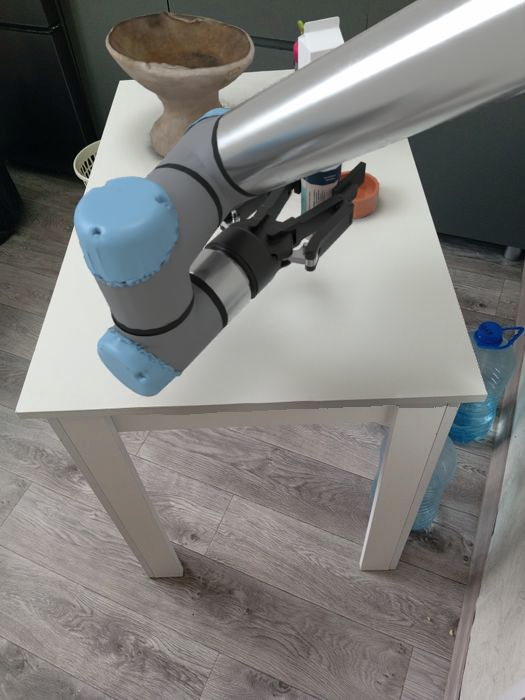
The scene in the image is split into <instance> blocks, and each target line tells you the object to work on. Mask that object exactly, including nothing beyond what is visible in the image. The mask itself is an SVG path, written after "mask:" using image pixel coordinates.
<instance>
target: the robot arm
mask: <svg viewBox="0 0 525 700" xmlns="http://www.w3.org/2000/svg"><path fill="white" fill-rule="evenodd" d="M344 42H345V43H343V44H341V45H340V46H338V47H336V48H335V49H333V50H331V51H329V52H328V53H326V54H324V55H323V56H321V57H319V58H317V59H316V60H314V61H312V62H310V63H309V64H307V65H305V66H304V67H302V68H300V69H298V70H297V71H295V70H294V71H293V72H292V73H290V74H288V75H286V76H285V77H283V78H281V79H279V80H278V81H276V82H275V83H272V84H271V85H269V86H267V87H266V88H264V89H263V90H261V91H259V92H257V93H255V94H253V95H252V96H250V97H248V98H247V99H245V100H243V101H242V102H240V103H238V104H237V105H235V106H233V107H232V108H227V107H224V108H216V109H213V110H210V111H209V112H207V113H206V114H205V115H204V116H203V117H201V118H200V119H199V120H197V121H196V122H195V123H194V124H192V125H191V126H190V127H189V128H188V129H187V130H186V131H185V133H184V135H183V136H182V138H181V139H180V140H179V142H178V143H177V144H176V145H175V146H174V147H173V148H172V150H171V151H170V152H169V153H168V154H167V155H166V156H165V157H163V158H162V159H161V160H160V162H159V163H157V165H156V166H155V167H154V168H153V170H151V171H150V172H149V173H148V174H147V175H146V176H145V177H141V176H120V177H114V178H112V179H111V178H110V179H108V180H106V182H105V184H104V185H102V186H95V187H92V188H91V189H89V191H87V192H85V194H84V195H83V196H82V197H81V199H80V200H79V201H78V203H77V205H76V207H75V210H74V216H73V227H74V230H75V233H76V237H77V239H78V244H79V246H80V249H81V252H82V254H83V259H84V262H85V264H86V267H87V269H88V270H89V271H90V273H91V275H92V276H93V278H94V280H95V282H96V284H97V286H98V287H99V290H100V291H101V294H102V296H103V297H104V300H105V301H106V303H107V306H108V307H109V312H110V316H111V320H112V321H113V326H110V327H108V328H107V329H106V332H104V334H103V335H102V336H101V337H100V338H99V339H98V340H97V348H96V352H97V355H98V357H99V359H100V360H101V362H102V364H103V365H104V366H105V368H106V369H107V370H108V372H110V373H111V374H112V376H114V377H115V378H116V380H118V381H119V382H120V384H122V385H123V386H125V387H126V388H128V389H129V390H130V391H132V392H133V393H135V394H137V395H139V396H141V397H146V398H147V397H149V398H151V397H155V396H157V395H158V394H159V393H160V392H161V391H163V390H164V388H166V387H167V386H168V385H169V384H171V382H172V381H174V380H175V379H176V378H178V377H180V376H181V375H182V374H183V372H184V371H185V370H186V369H187V368H188V367H189V366H190V365H191V364H192V363H193V362H194V361H195V360H196V359H197V357H198V356H199V355H200V354H201V353H202V352H204V350H205V349H207V347H208V346H209V345H210V344H211V343H212V342H213V341H214V340H215V338H216V337H218V335H219V334H221V332H222V331H223V330H224V329H225V328H226V327H227V326H228V324H230V323H231V322H232V321H233V320H234V319H235V318H236V317H237V316H238V315H239V314H240V313H241V312H242V310H244V309H245V308H246V306H248V304H250V302H251V300H253V299H255V298H256V297H257V296H258V295H259V294H260V293H261V292H262V291H263V290H264V289H265V288H266V287H267V286H268V285H269V284H270V283H271V282H272V281H273V279H274V278H275V276H276V275H277V273H278V272H279V271H280V270H282V269H284V268H288V266H290V265H291V264H298V265H303V266H304V270H305V271H306V272H310V273H311V272H314V271H316V269H317V266H318V263H319V260H320V259H321V258H322V256H323V255H324V254H325V253H326V252H327V251H328V250H329V248H330V247H332V246H333V245H334V244H335V243H336V241H337V240H338V239H340V237H341V236H342V235H343V234H344V233H345V232H346V231H347V230H348V229H349V228H350V226H352V224H353V222H354V219H353V214H354V204H353V203H352V201H353V200H354V199H355V198H356V197H357V192H358V188H359V187H360V186H361V185H362V184H363V183H364V179H365V172H366V169H367V162H364V161H359V163H357V164H356V166H354V168H352V169H351V170H349V171H350V172H349V173H348V174H347V175H346V176H345V177H344V178H343V179H342V180H341V181H340V182H339V183H338V184H337V185H336V186H335V187H334V188H333V189H332V197H330V198H328V199H327V200H325V201H323V202H322V203H320V204H318V205H317V206H315V207H313V208H312V209H310V210H308V211H307V212H305V213H303V214H301V213H300V215H297V216H296V217H294V216H290V217H289V218H287V219H285V220H283V221H280V220H277V218H278V217H279V216H280V214H281V212H282V210H283V209H284V207H285V206H286V204H287V202H288V201H289V199H290V198H291V196H292V194H293V193H294V194H295V195H299V196H300V195H301V179H302V178H304V177H307V176H310V175H312V174H315V173H317V172H320V171H323V170H325V169H328V168H330V167H333V166H335V165H338V164H341V163H342V164H344V163H345V162H349V161H350V160H351V161H352V160H353V159H356V158H358V157H362V156H364V155H366V154H369V153H372V152H374V151H376V150H379V149H382V148H385V147H387V146H389V145H392V144H394V143H397V142H400V141H401V140H405V139H407V138H410V137H412V136H415V135H418V134H420V133H423V132H426V131H428V130H431V129H433V128H436V127H439V126H441V125H443V124H446V123H448V122H452V121H454V120H456V119H458V118H459V119H460V118H462V117H464V116H466V115H469V114H473V113H475V112H477V111H480V110H482V109H484V108H487V107H490V106H492V105H496V104H497V103H498V104H499V103H500V102H503V101H505V100H508V99H510V98H513V97H515V96H518V95H520V94H523V93H525V0H415V1H414V2H412V3H410V4H408V5H407V6H405V7H403V8H402V9H399V10H398V11H397V12H394V13H393V14H390V16H387V17H385V18H384V19H382V20H381V21H379V22H378V23H376V24H374V25H373V26H370V27H369V28H367V29H366V30H364V31H361V32H360V33H358V34H357V35H355V36H353V37H352V38H350V39H348V40H347V41H344ZM252 215H253V216H252ZM218 229H219V230H221V232H219V233H218V234H217V235H216V236H215V237H214V238H213V239H212V240H211V238H212V237H213V235H214V234H215V233H216V232H217V230H218ZM316 231H317V232H316ZM314 232H316V233H315V234H314V235H313V236H312V237H311V238H310V240H308V242H307V241H305V242H303V243H302V241H304V239H306V237H308V236H310V235H311V234H313V233H314ZM301 243H302V245H301ZM300 245H301V246H300ZM299 246H300V247H299ZM297 247H299V249H295V248H297Z"/></svg>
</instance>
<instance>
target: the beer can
mask: <svg viewBox="0 0 525 700" xmlns="http://www.w3.org/2000/svg"><path fill="white" fill-rule="evenodd" d="M342 167H343V163H341V164H338V165H335V166H333V167H330V168H328V169H325V170H323V171H320V172H317V173H315V174H312V175H310V176H307V177H304V178H302V179H301V193H300V215H301V214H303V213H305V212H307V211H308V210H310V209H312V208H313V207H315V206H317V205H318V204H320V203H322V202H323V201H325V200H327V199H328V198H330V197H332V189H333V188H334V187H335V186H336V185H337V184H338V183H339V182H340V181H341V172H342ZM316 232H317V231H316ZM316 232H314V233H313V234H311V235H310V236H308V237H306V238H305V239H306V240H307V241H309V240H310V238H311V237H312V236H313V235H314V234H315V233H316Z"/></svg>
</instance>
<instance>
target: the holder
mask: <svg viewBox="0 0 525 700" xmlns="http://www.w3.org/2000/svg"><path fill="white" fill-rule="evenodd" d="M350 171H351V170H346V171H341V180H342V179H343V178H344V177H345V176H346V175H347V174H348V173H349V172H350ZM379 194H380V182H379V181H378V178H376V177H375V176H374V175H372V174H371V173H369V172H366V171H365V179H364V183H363V184H362V185H361V186H360V187H359V188H358V192H357V197H356V198H355V199H354V200H353V201H352V203H353V204H354V214H353V220H354V219H355V220H356V219H362V218H365V217H367V216H370V215H371V214H372V213H373V212H374V211H375V210H376V208H377V205H378V200H379Z"/></svg>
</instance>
